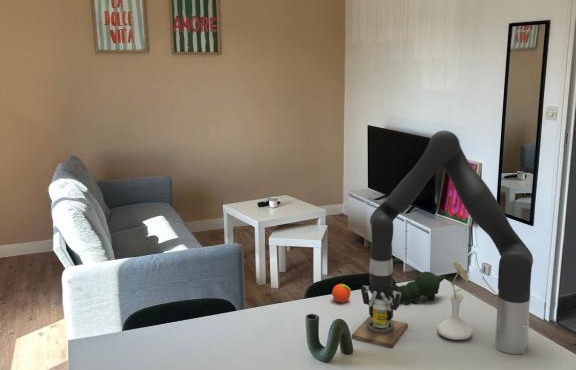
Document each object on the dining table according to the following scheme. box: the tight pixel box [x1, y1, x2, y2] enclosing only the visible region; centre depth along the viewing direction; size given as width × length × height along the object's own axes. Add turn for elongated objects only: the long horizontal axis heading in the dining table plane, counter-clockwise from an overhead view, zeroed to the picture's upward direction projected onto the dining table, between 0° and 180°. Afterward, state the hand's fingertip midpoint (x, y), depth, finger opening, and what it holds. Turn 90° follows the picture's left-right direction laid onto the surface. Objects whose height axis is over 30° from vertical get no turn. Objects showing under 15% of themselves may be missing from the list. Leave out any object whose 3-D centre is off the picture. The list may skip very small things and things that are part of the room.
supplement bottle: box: [373, 298, 389, 328], centre depth 189 cm, size 5×5×10 cm
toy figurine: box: [391, 257, 447, 306], centre depth 213 cm, size 9×19×25 cm
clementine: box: [331, 283, 352, 303], centre depth 215 cm, size 8×7×7 cm
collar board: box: [351, 315, 409, 349], centre depth 190 cm, size 14×16×3 cm
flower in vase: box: [436, 260, 473, 341], centre depth 186 cm, size 13×11×25 cm
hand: (380, 317), depth 189 cm, fingers closed on supplement bottle, 5 cm apart
